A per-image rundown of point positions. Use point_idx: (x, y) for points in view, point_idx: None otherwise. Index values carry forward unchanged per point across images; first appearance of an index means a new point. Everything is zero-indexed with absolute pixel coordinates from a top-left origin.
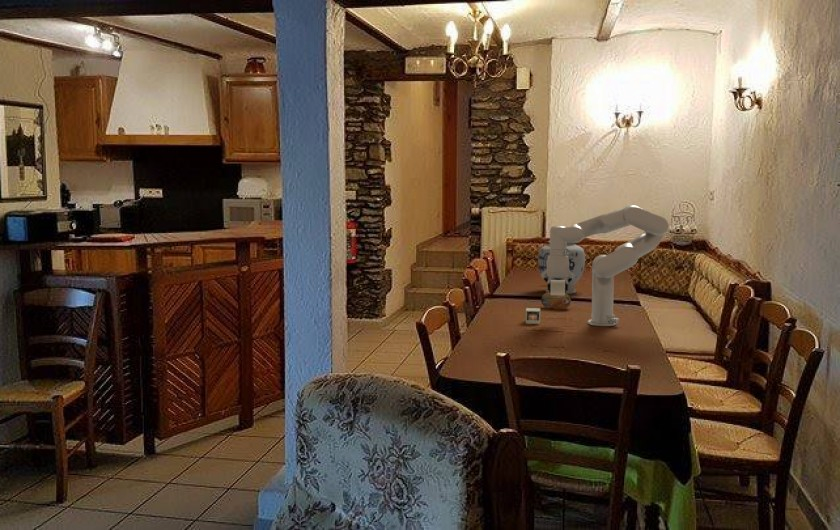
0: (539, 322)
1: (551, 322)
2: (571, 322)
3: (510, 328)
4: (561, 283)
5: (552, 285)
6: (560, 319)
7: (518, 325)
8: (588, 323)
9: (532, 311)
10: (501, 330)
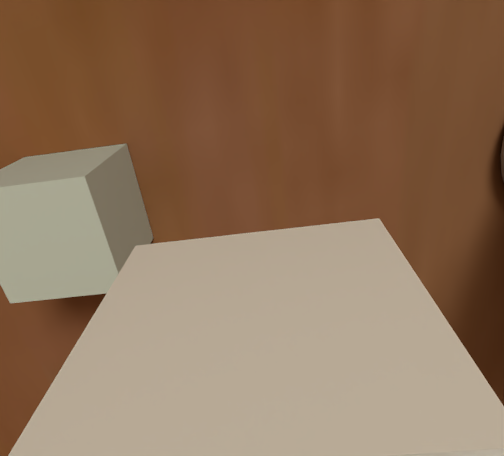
0: (148, 243)
1: (220, 170)
2: (371, 129)
3: (42, 381)
4: (365, 382)
5: (128, 352)
6: (275, 13)
7: (46, 310)
8: (501, 170)
9: (66, 293)
10: (24, 422)
